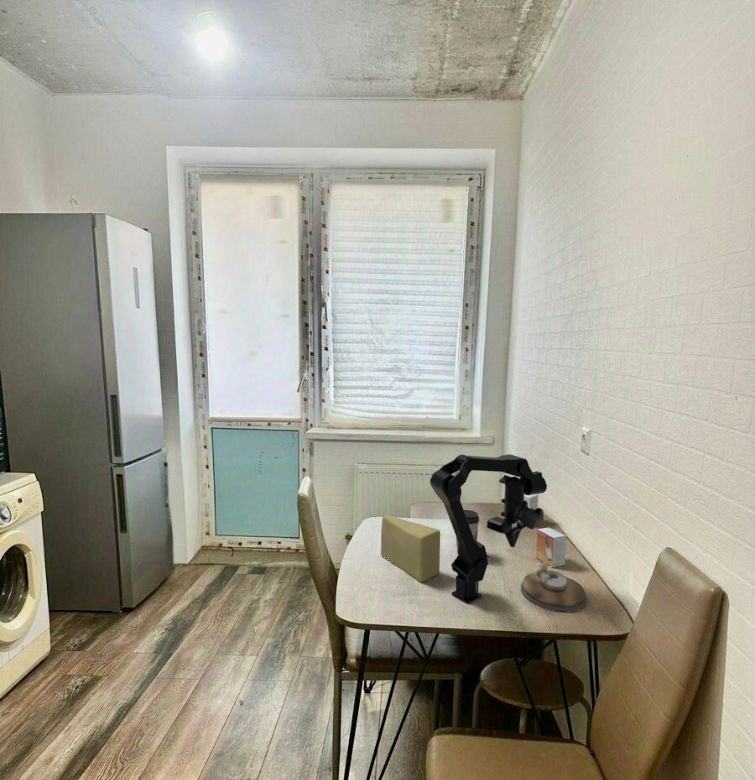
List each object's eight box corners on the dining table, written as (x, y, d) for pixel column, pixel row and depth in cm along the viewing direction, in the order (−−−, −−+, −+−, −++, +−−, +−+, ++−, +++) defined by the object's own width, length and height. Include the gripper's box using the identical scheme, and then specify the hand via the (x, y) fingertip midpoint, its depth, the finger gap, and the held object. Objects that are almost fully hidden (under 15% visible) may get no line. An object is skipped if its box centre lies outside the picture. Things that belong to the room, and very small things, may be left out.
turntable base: (566, 619, 119) (566, 616, 119) (506, 590, 133) (506, 586, 133) (597, 597, 130) (598, 594, 130) (539, 572, 145) (539, 569, 144)
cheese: (371, 559, 152) (372, 517, 151) (391, 551, 159) (392, 510, 158) (421, 584, 136) (422, 536, 135) (440, 573, 143) (441, 528, 142)
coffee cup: (476, 561, 152) (478, 519, 151) (452, 557, 154) (453, 515, 153) (479, 551, 160) (480, 511, 158) (456, 548, 162) (457, 508, 161)
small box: (535, 558, 155) (536, 528, 154) (547, 555, 157) (549, 526, 156) (552, 568, 148) (553, 537, 147) (565, 565, 150) (566, 535, 149)
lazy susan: (533, 606, 123) (534, 589, 122) (515, 576, 140) (516, 560, 139) (595, 607, 123) (596, 590, 122) (569, 577, 140) (570, 561, 139)
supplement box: (512, 522, 188) (513, 493, 187) (521, 518, 193) (522, 489, 192) (528, 527, 183) (530, 497, 182) (537, 523, 188) (538, 494, 187)
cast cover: (545, 592, 128) (546, 581, 127) (537, 579, 135) (537, 570, 134) (570, 592, 127) (570, 582, 127) (560, 580, 134) (560, 570, 134)
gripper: (519, 510, 122) (517, 565, 124) (555, 498, 134) (553, 548, 135) (486, 500, 131) (485, 551, 132) (523, 489, 143) (521, 536, 144)
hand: (512, 546), depth 136 cm, fingers closed
